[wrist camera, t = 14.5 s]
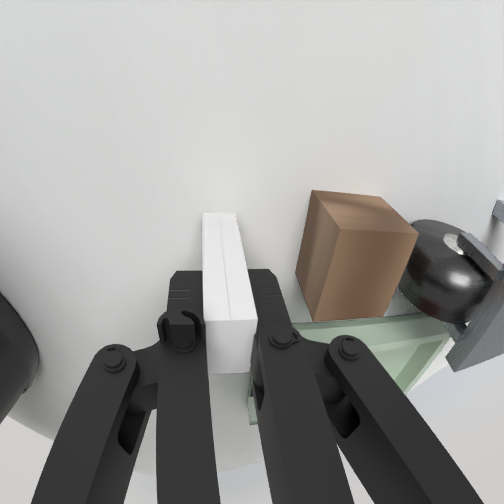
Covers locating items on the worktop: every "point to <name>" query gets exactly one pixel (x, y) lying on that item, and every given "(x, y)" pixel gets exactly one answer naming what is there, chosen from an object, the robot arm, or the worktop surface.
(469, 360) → the caster wheel
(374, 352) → the tray
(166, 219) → the worktop surface
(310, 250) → the block
